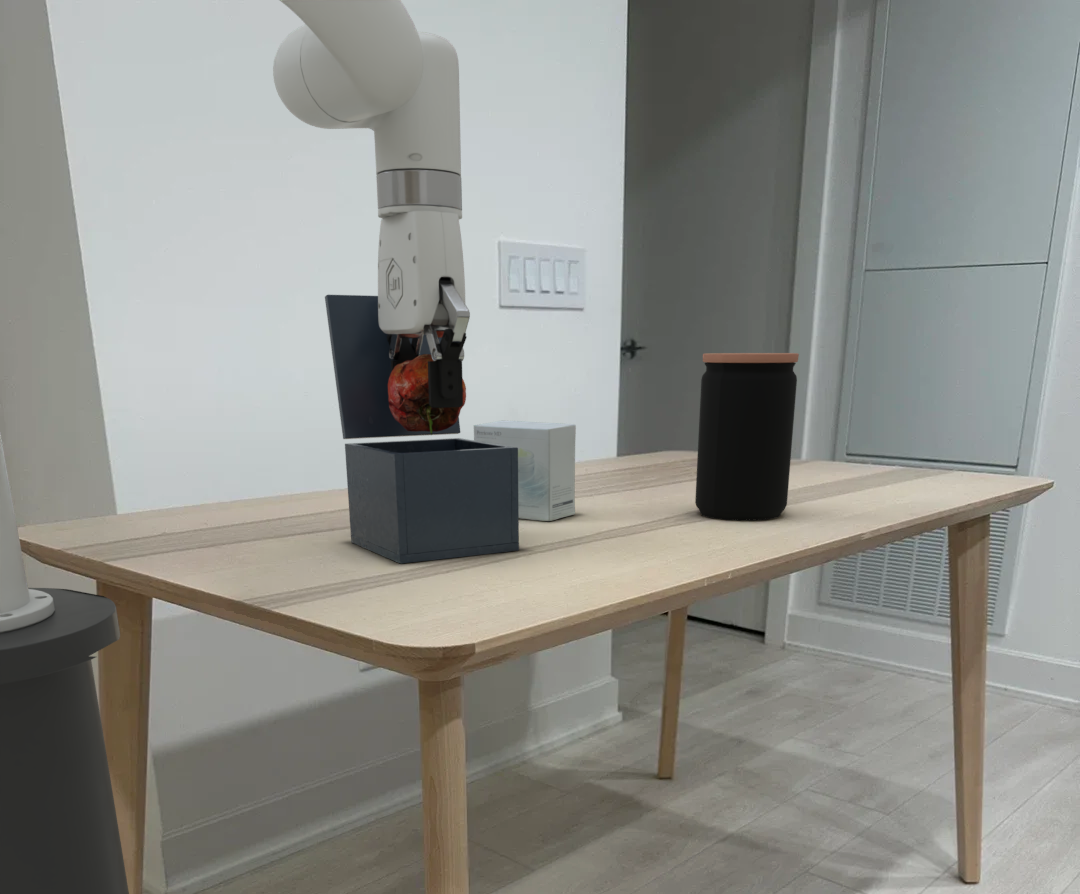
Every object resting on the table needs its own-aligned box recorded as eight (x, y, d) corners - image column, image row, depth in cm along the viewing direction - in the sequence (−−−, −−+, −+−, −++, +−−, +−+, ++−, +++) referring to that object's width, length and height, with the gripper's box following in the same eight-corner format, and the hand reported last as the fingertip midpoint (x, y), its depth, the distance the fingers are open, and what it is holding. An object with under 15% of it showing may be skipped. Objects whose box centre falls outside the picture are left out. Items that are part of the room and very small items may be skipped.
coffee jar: (803, 514, 120) (817, 353, 114) (751, 524, 113) (763, 353, 107) (729, 505, 127) (738, 353, 121) (676, 514, 120) (683, 353, 114)
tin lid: (446, 297, 103) (442, 299, 104) (327, 294, 97) (324, 296, 98) (460, 433, 105) (457, 434, 106) (345, 438, 99) (342, 439, 100)
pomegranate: (473, 458, 96) (468, 388, 102) (463, 396, 90) (459, 325, 95) (395, 466, 96) (395, 396, 102) (380, 405, 90) (380, 334, 95)
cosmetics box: (473, 514, 120) (471, 423, 117) (503, 508, 126) (502, 419, 122) (548, 522, 115) (548, 426, 112) (576, 514, 120) (577, 423, 117)
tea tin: (519, 550, 99) (518, 447, 96) (400, 563, 93) (394, 454, 90) (461, 531, 109) (459, 437, 106) (351, 542, 103) (344, 443, 100)
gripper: (345, 207, 96) (356, 402, 102) (421, 183, 82) (429, 410, 88) (418, 213, 99) (424, 400, 105) (503, 190, 85) (505, 408, 91)
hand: (426, 404), depth 96 cm, fingers closed on pomegranate, 7 cm apart
